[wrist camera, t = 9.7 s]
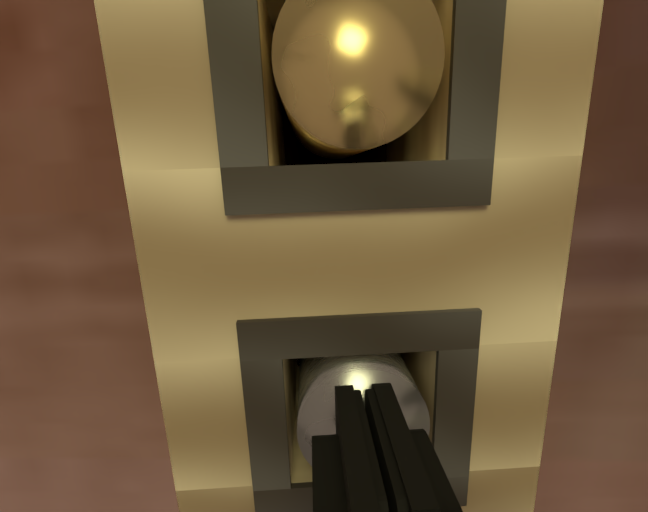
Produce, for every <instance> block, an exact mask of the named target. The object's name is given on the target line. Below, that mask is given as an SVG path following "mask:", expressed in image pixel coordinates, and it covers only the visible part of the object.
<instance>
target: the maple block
mask: <svg viewBox="0 0 648 512" xmlns="http://www.w3.org/2000/svg"><path fill="white" fill-rule="evenodd" d="M285 1H286V0H94V4H95V10H96V16H97V22H98V28H99V34H100V40H101V46H102V52H103V58H104V64H105V70H106V76H107V82H108V88H109V94H110V100H111V106H112V112H113V118H114V124H115V130H116V136H117V142H118V148H119V154H120V160H121V166H122V172H123V178H124V184H125V190H126V196H127V202H128V208H129V214H130V220H131V226H132V232H133V238H134V244H135V250H136V256H137V262H138V268H139V274H140V280H141V286H142V292H143V298H144V304H145V309H146V315H147V321H148V327H149V333H150V339H151V345H152V351H153V357H154V363H155V369H156V375H157V381H158V387H159V393H160V399H161V405H162V411H163V417H164V423H165V429H166V435H167V441H168V447H169V453H170V459H171V465H172V471H173V477H174V483H175V489H176V495H177V501H178V507H179V512H313V489H312V466H311V465H310V464H309V463H308V462H307V460H306V459H305V457H304V456H303V454H302V452H301V450H300V447H299V444H298V439H297V415H298V391H299V367H300V366H297V358H315V357H333V356H351V355H370V354H388V353H400V354H401V356H402V358H403V360H404V362H405V364H406V366H407V368H408V370H409V372H410V374H411V376H412V378H413V380H414V382H415V384H416V386H417V388H418V390H419V392H420V393H421V395H422V397H423V399H424V401H425V403H426V406H427V409H428V411H429V417H430V431H429V439H430V441H431V443H432V445H433V447H434V450H435V452H436V454H437V456H438V458H439V460H440V463H441V465H442V467H443V469H444V471H445V474H446V476H447V478H448V480H449V482H450V484H451V487H452V489H453V491H454V493H455V495H456V498H457V500H458V502H459V504H460V506H461V508H462V511H463V512H534V504H535V497H536V490H537V482H538V475H539V468H540V461H541V453H542V446H543V439H544V432H545V424H546V417H547V410H548V402H549V395H550V388H551V381H552V373H553V366H554V359H555V351H556V344H557V337H558V330H559V322H560V315H561V308H562V301H563V293H564V286H565V279H566V271H567V264H568V257H569V250H570V242H571V235H572V228H573V221H574V213H575V206H576V199H577V191H578V184H579V177H580V170H581V162H582V155H583V148H584V141H585V133H586V126H587V119H588V111H589V104H590V97H591V90H592V82H593V75H594V68H595V60H596V53H597V46H598V39H599V31H600V24H601V17H602V10H603V2H604V0H431V1H432V2H433V4H434V6H435V8H436V11H437V13H438V16H439V18H440V22H441V26H442V30H443V36H444V43H445V58H444V68H443V73H442V77H441V81H440V84H439V87H438V90H437V93H436V95H435V97H434V99H433V101H432V103H431V105H430V106H429V108H428V109H427V111H426V112H425V114H424V115H423V116H422V117H421V119H420V120H419V121H418V122H417V123H416V124H415V125H414V126H413V127H412V128H411V129H410V130H408V131H407V132H406V133H404V134H403V135H402V136H400V137H398V138H396V139H395V140H393V141H391V142H388V143H387V147H386V162H372V163H343V164H314V165H286V164H285V147H284V130H283V113H282V100H281V97H280V94H279V91H278V88H277V86H276V82H275V78H274V74H273V67H272V40H273V33H274V29H275V25H276V21H277V18H278V16H279V13H280V10H281V8H282V7H283V5H284V3H285Z"/></svg>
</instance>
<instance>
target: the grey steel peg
mask: <svg viewBox="0 0 648 512" xmlns="http://www.w3.org/2000/svg"><path fill="white" fill-rule="evenodd" d="M376 383H391V385H392V387H393V390H394V392H395V395H396V397H397V400H398V402H399V405H400V408H401V410H402V413H403V415H404V418H405V420H406V423H407V425H408V428H409V430H410V429H424V430H425V431H426V433H427V434H428V436H429V431H430V417H429V411H428V409H427V406H426V403H425V401H424V399H423V397H422V395H421V393H420V392H419V390H418V388H417V386H416V384H415V382H414V380H413V378H412V376H411V374H410V372H409V370H408V368H407V366H406V364H405V362H404V360H403V358H402V356H401V354H400V353H388V354H370V355H351V356H333V357H315V358H300V367H299V391H298V415H297V439H298V444H299V447H300V450H301V452H302V454H303V456H304V457H305V459H306V460H307V462H308V463H309V464H310V465H311V466H312V436H317V435H332V434H336V419H335V386H342V385H353V388H354V390H361V394H362V398H363V402H364V406H365V390H366V389H371V386H372V384H376Z"/></svg>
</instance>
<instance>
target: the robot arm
mask: <svg viewBox="0 0 648 512" xmlns="http://www.w3.org/2000/svg"><path fill="white" fill-rule="evenodd" d="M335 419H336V434H332V435H317V436H312V489H313V512H463V511H462V508H461V506H460V504H459V502H458V500H457V498H456V495H455V493H454V491H453V489H452V487H451V484H450V482H449V480H448V478H447V476H446V474H445V471H444V469H443V467H442V465H441V463H440V460H439V458H438V456H437V454H436V452H435V450H434V447H433V445H432V443H431V441H430V439H429V436H428V434H427V433H426V431H425V430H424V429H410V430H409V428H408V425H407V423H406V420H405V418H404V415H403V413H402V410H401V408H400V405H399V402H398V400H397V397H396V395H395V392H394V390H393V387H392V385H391V383H376V384H372V386H371V389H366V390H365V406H364V402H363V398H362V394H361V390H354V388H353V385H342V386H335Z"/></svg>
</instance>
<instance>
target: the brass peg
mask: <svg viewBox="0 0 648 512" xmlns="http://www.w3.org/2000/svg"><path fill="white" fill-rule="evenodd" d="M444 58H445V43H444V36H443V30H442V26H441V22H440V18H439V16H438V13H437V11H436V8H435V6H434V4H433V2H432V1H431V0H286V1H285V3H284V5H283V7H282V8H281V10H280V13H279V16H278V18H277V21H276V25H275V29H274V33H273V40H272V67H273V74H274V78H275V82H276V86H277V88H278V91H279V94H280V97H281V100H282V102H283V105H284V108H285V111H286V114H287V116H288V119H289V122H290V125H291V127H292V130H293V132H294V134H295V136H296V137H297V139H298V140H299V142H300V143H301V144H302V145H303V146H304V147H305V148H306V149H308V150H309V151H310V152H312V153H314V154H316V155H318V156H320V157H324V158H328V159H343V158H347V157H350V156H353V155H356V154H359V153H361V152H364V151H367V150H370V149H372V148H375V147H378V146H381V145H383V144H386V143H388V142H391V141H393V140H395V139H396V138H398V137H400V136H402V135H403V134H404V133H406V132H407V131H408V130H410V129H411V128H412V127H413V126H414V125H415V124H416V123H417V122H418V121H419V120H420V119H421V117H422V116H423V115H424V114H425V112H426V111H427V109H428V108H429V106H430V105H431V103H432V101H433V99H434V97H435V95H436V93H437V90H438V87H439V84H440V81H441V77H442V73H443V68H444Z"/></svg>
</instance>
